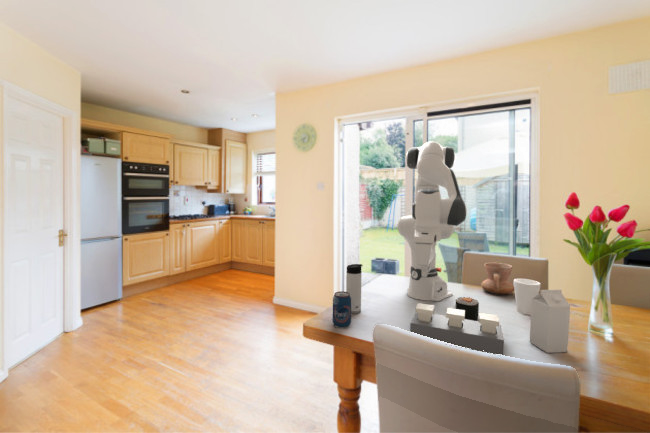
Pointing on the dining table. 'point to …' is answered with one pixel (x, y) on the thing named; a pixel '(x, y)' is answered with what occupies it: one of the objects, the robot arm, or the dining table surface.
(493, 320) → the knob
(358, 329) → the dining table surface
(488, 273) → the ceramic jug
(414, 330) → the block
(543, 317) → the milk carton
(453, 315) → the knob middle
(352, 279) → the travel mug
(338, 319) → the soda can
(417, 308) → the knob
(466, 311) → the sushi
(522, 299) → the foam cup
